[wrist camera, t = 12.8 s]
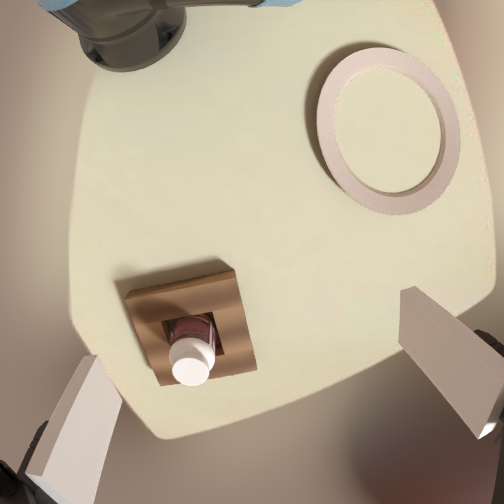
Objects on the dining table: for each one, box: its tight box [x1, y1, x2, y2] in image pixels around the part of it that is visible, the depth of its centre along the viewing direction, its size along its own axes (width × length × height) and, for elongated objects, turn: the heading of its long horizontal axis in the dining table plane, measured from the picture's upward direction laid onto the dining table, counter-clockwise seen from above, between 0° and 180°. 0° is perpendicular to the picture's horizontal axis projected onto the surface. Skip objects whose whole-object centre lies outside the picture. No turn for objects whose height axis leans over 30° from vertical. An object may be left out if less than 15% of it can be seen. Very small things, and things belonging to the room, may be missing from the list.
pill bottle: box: [169, 313, 215, 386], centre depth 42 cm, size 6×6×11 cm
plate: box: [316, 47, 460, 215], centre depth 40 cm, size 26×26×2 cm
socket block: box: [125, 270, 257, 386], centre depth 46 cm, size 16×16×3 cm
